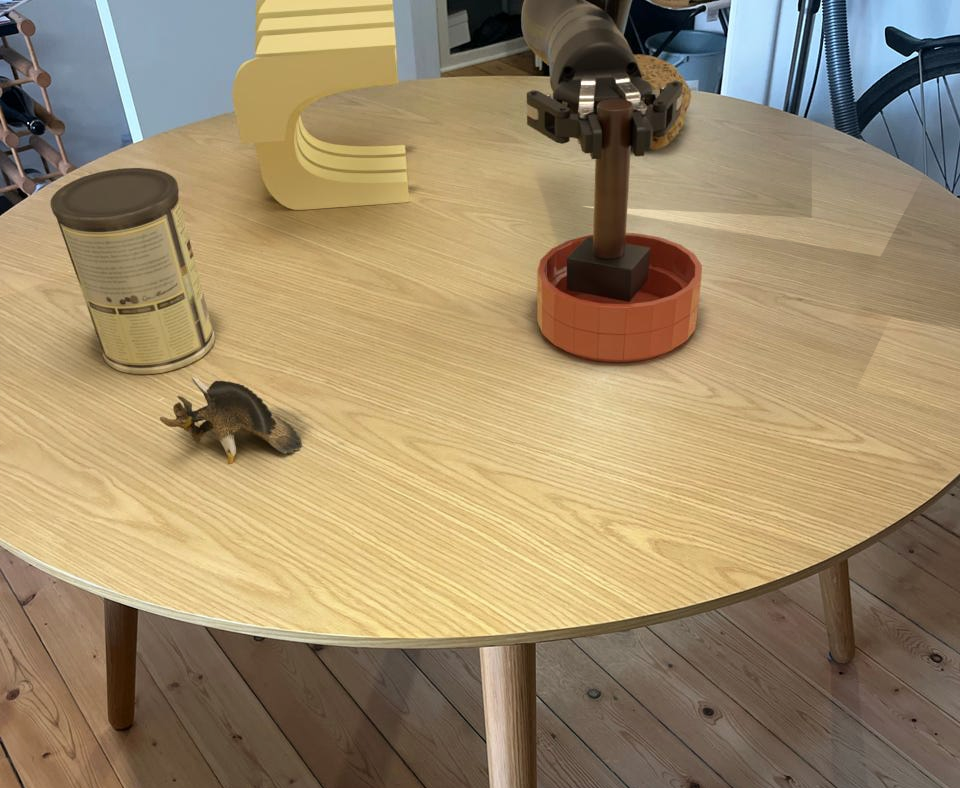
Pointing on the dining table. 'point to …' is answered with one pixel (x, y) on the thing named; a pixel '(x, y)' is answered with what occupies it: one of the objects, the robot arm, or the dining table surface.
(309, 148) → the slatted curved stool
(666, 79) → the sponge
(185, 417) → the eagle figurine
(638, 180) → the dining table surface
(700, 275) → the bowl
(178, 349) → the coffee can
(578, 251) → the hammer
